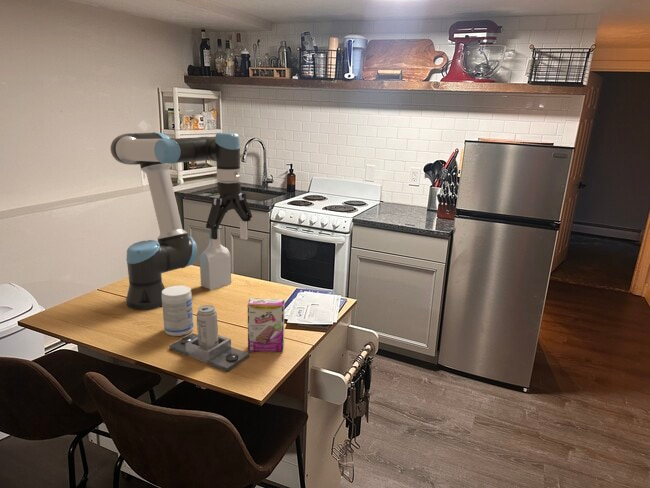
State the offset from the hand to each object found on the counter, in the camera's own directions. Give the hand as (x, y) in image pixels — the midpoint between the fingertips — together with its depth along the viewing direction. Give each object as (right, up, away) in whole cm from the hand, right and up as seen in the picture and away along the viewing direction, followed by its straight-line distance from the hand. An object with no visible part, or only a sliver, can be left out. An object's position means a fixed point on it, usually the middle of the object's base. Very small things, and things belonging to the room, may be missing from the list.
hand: (230, 243), depth 159 cm
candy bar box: (+13, -34, -11) cm, 38 cm away
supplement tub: (-18, -30, 0) cm, 35 cm away
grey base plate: (-4, -34, -14) cm, 37 cm away
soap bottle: (-14, -18, +40) cm, 46 cm away
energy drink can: (-4, -34, -14) cm, 37 cm away
